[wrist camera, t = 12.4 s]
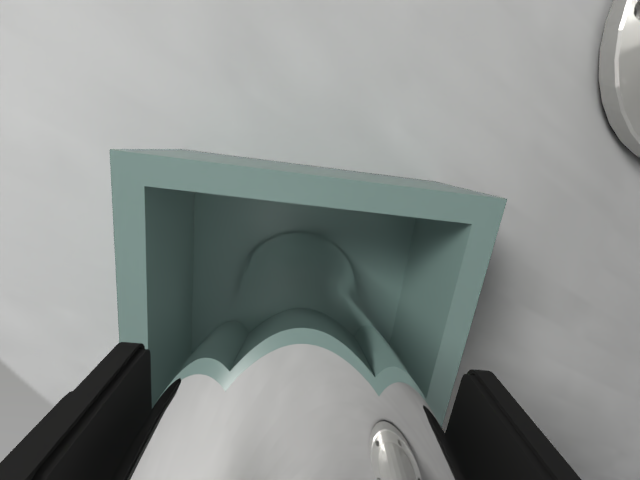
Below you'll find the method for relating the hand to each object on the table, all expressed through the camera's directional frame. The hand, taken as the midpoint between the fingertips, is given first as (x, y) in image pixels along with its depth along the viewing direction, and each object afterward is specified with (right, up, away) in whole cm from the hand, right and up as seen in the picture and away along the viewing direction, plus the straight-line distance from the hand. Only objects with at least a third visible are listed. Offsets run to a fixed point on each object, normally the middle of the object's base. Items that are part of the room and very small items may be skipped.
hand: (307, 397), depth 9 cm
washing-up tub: (-1, +2, +8) cm, 9 cm away
